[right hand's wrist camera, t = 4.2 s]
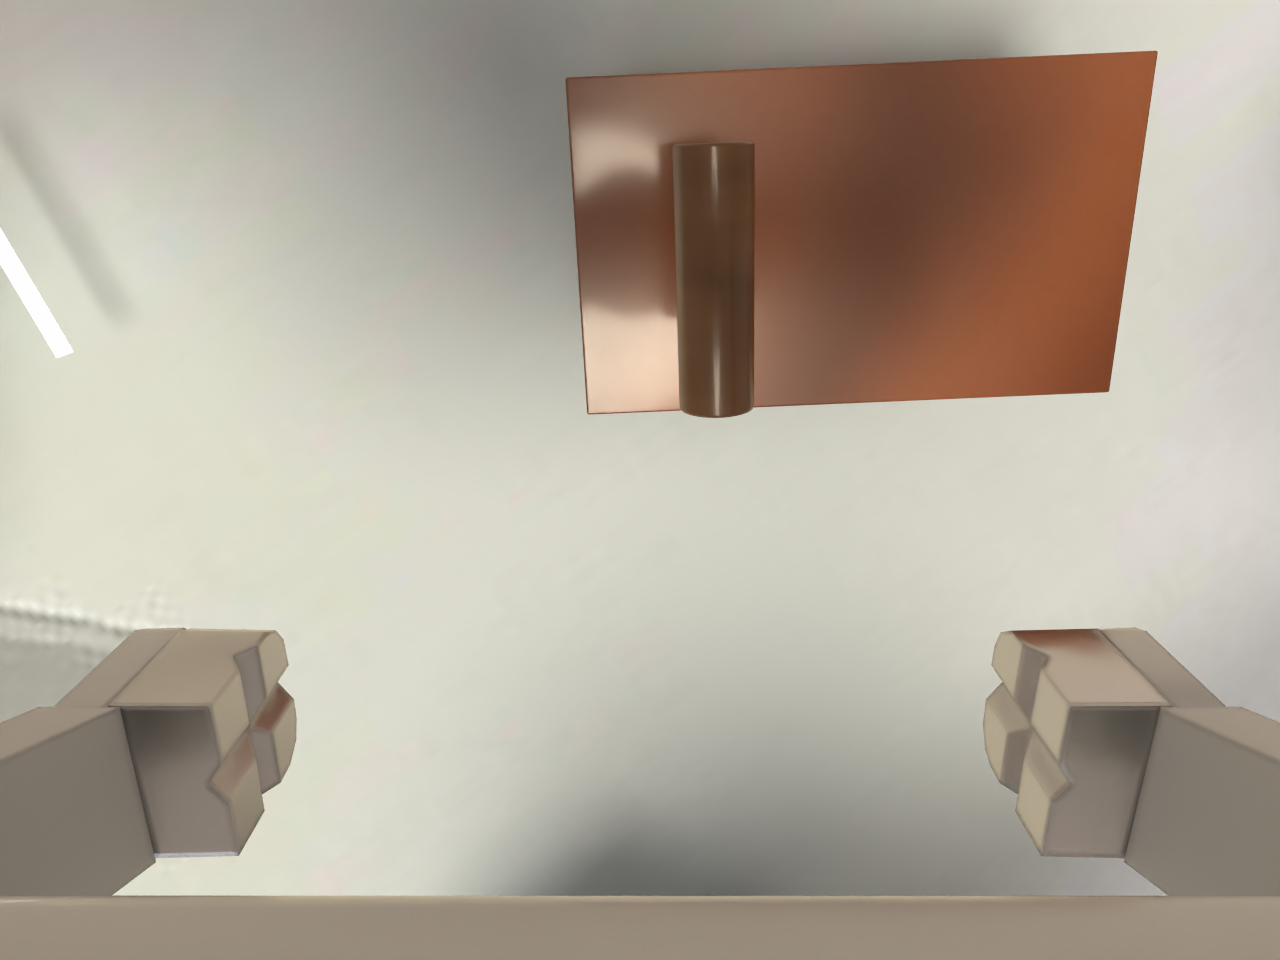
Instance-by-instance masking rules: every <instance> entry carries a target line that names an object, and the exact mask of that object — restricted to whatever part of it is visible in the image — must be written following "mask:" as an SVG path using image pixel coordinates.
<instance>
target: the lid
mask: <svg viewBox="0 0 1280 960" xmlns="http://www.w3.org/2000/svg"><path fill="white" fill-rule="evenodd" d="M1156 60H1157V51H1140V52H1118V53H1096V54H1074V55H1052V56H1030V57H1008V58H986V59H964V60H942V61H920V62H898V63H877V64H855V65H833V66H811V67H789V68H767V69H745V70H723V71H701V72H679V73H657V74H635V75H613V76H592V77H570V78H566V94H567V109H568V125H569V140H570V156H571V171H572V186H573V202H574V217H575V232H576V248H577V263H578V279H579V294H580V309H581V325H582V340H583V355H584V371H585V386H586V401H587V413H588V414H610V413H633V412H656V411H679V410H682V411H683V412H684V413H686V414H689V415H693V416H698V417H706V418H723V417H732V416H737V415H741V414H744V413H747V412H749V411H751V410H752V409H753V407H772V406H796V405H819V404H842V403H865V402H889V401H912V400H935V399H958V398H982V397H1005V396H1028V395H1052V394H1075V393H1098V392H1109V387H1110V380H1111V373H1112V366H1113V359H1114V352H1115V345H1116V338H1117V331H1118V324H1119V317H1120V310H1121V303H1122V297H1123V290H1124V283H1125V276H1126V269H1127V262H1128V255H1129V248H1130V241H1131V234H1132V227H1133V220H1134V213H1135V206H1136V199H1137V192H1138V185H1139V178H1140V171H1141V164H1142V157H1143V150H1144V143H1145V136H1146V129H1147V122H1148V115H1149V108H1150V101H1151V94H1152V87H1153V80H1154V73H1155V67H1156Z"/></svg>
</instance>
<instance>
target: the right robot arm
mask: <svg viewBox="0 0 1280 960" xmlns="http://www.w3.org/2000/svg"><path fill="white" fill-rule="evenodd" d="M0 264H1V266H2V267H3V269H4V271H5V272H6V274H7V276H8V277H9V279H10V281H11V282H12V284H13V286H14V287H15V289H16V291H17V292H18V294H19V296H20V297H21V299H22V301H23V302H24V304H25V306H26V307H27V309H28V311H29V312H30V314H31V316H32V317H33V319H34V321H35V322H36V324H37V326H38V327H39V329H40V331H41V332H42V334H43V336H44V337H45V339H46V341H47V342H48V344H49V346H50V347H51V349H52V351H53V352H54V354H55V356H56V357H57V358H58V357H61V356H64V355H66V354H69V353H71V352H73V350H72V348H71V347H70V345H69V343H68V342H67V340H66V338H65V337H64V335H63V333H62V332H61V330H60V328H59V326H58V325H57V323H56V321H55V320H54V318H53V316H52V315H51V313H50V311H49V310H48V308H47V306H46V305H45V303H44V301H43V299H42V298H41V296H40V294H39V293H38V291H37V289H36V288H35V286H34V284H33V283H32V281H31V279H30V278H29V276H28V274H27V272H26V271H25V269H24V267H23V266H22V264H21V262H20V261H19V259H18V257H17V256H16V254H15V252H14V251H13V249H12V247H11V245H10V244H9V242H8V240H7V239H6V237H5V235H4V234H3V232H2V230H1V229H0ZM287 667H288V660H287V655H286V650H285V645H284V640H283V638H282V637H281V636H280V635H279V634H278V633H277V631H276V630H232V629H185V628H156V629H141V630H135V631H134V632H133V633H132V634H131V635H130V636H128V637H127V638H126V639H125V640H124V641H123V642H122V643H121V644H120V645H119V646H118V647H117V648H116V649H115V650H114V651H113V652H111V653H110V654H109V655H108V656H107V657H106V658H105V659H104V660H103V661H102V662H101V663H100V664H99V665H98V666H97V667H96V668H94V669H93V670H92V671H91V672H90V673H89V674H88V675H87V676H86V677H85V678H84V679H83V680H82V681H81V682H80V683H79V684H78V685H76V686H75V687H74V688H73V689H72V690H71V691H70V692H69V693H68V694H67V695H66V696H65V697H64V698H63V699H62V700H61V701H59V702H58V703H57V704H56V705H55V706H54V707H38V708H35V709H33V710H31V711H28V712H26V713H23V714H21V715H19V716H16V717H14V718H11V719H9V720H7V721H4V722H2V723H0V960H1280V723H1278V722H1276V721H1273V720H1271V719H1269V718H1266V717H1264V716H1261V715H1259V714H1257V713H1254V712H1252V711H1249V710H1247V709H1245V708H1242V707H1226V706H1225V705H1224V704H1223V703H1222V702H1221V701H1220V700H1219V699H1217V698H1216V697H1215V696H1214V695H1213V694H1212V693H1211V692H1210V691H1209V690H1208V689H1207V688H1206V687H1205V686H1204V685H1203V684H1202V683H1201V682H1199V681H1198V680H1197V679H1196V678H1195V677H1194V676H1193V675H1192V674H1191V673H1190V672H1189V671H1188V670H1187V669H1186V668H1185V667H1184V666H1183V665H1181V664H1180V663H1179V662H1178V661H1177V660H1176V659H1175V658H1174V657H1173V656H1172V655H1171V654H1170V653H1169V652H1168V651H1167V650H1166V649H1165V648H1163V647H1162V646H1161V645H1160V644H1159V643H1158V642H1157V641H1156V640H1155V639H1154V638H1153V637H1152V636H1151V635H1150V634H1149V633H1148V632H1147V631H1144V630H1141V629H1137V628H1113V629H1065V630H1024V631H1007V632H1001V633H1000V635H999V637H998V640H997V642H996V644H995V648H994V654H993V659H992V667H993V668H994V670H995V671H996V673H997V674H998V676H999V677H1000V679H1001V680H1002V683H1001V684H1000V685H999V686H998V687H997V688H996V689H995V690H994V692H993V693H992V694H991V695H990V696H989V697H988V698H987V699H986V705H985V713H984V722H983V729H984V739H985V749H986V753H987V756H988V759H989V762H990V765H991V768H992V770H993V771H994V773H995V775H996V777H997V779H998V781H999V783H1001V784H1003V785H1004V786H1006V787H1007V788H1009V789H1010V790H1012V791H1014V792H1015V793H1017V794H1018V799H1017V805H1016V813H1017V814H1018V816H1019V818H1020V820H1021V821H1022V823H1023V825H1024V826H1025V828H1026V830H1027V832H1028V833H1029V835H1030V837H1031V839H1032V840H1033V842H1034V844H1035V846H1036V847H1037V849H1038V851H1039V852H1040V854H1041V856H1067V857H1104V858H1125V859H1124V862H1125V863H1126V864H1128V865H1129V866H1130V867H1132V868H1133V869H1134V870H1136V871H1137V872H1138V873H1140V874H1141V875H1142V876H1144V877H1145V878H1146V879H1148V880H1149V881H1150V882H1151V883H1153V884H1154V885H1155V886H1157V887H1158V888H1159V889H1161V890H1162V891H1163V892H1165V893H1166V894H1167V895H1169V896H112V895H113V894H114V893H116V892H117V891H118V890H120V889H121V888H122V887H124V886H125V885H126V884H128V883H129V882H130V881H131V880H133V879H134V878H135V877H137V876H138V875H139V874H141V873H142V872H143V871H145V870H146V869H147V868H149V867H150V866H151V865H153V864H154V863H155V862H156V860H155V858H175V857H211V856H239V854H240V853H241V851H242V849H243V847H244V846H245V844H246V842H247V840H248V839H249V837H250V835H251V834H252V832H253V830H254V828H255V827H256V825H257V823H258V821H259V820H260V818H261V816H262V814H263V813H264V805H263V799H262V794H263V793H265V792H266V791H268V790H270V789H271V788H273V787H274V786H276V785H277V784H279V783H281V781H282V779H283V777H284V775H285V773H286V771H287V769H288V768H289V766H290V763H291V759H292V755H293V751H294V746H295V742H296V720H297V718H296V711H295V704H294V699H293V698H292V697H291V696H290V695H289V694H288V693H287V692H286V690H285V689H284V688H283V687H282V686H281V685H280V684H279V683H278V680H279V679H280V677H281V676H282V674H283V673H284V671H285V670H286V668H287Z"/></svg>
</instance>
